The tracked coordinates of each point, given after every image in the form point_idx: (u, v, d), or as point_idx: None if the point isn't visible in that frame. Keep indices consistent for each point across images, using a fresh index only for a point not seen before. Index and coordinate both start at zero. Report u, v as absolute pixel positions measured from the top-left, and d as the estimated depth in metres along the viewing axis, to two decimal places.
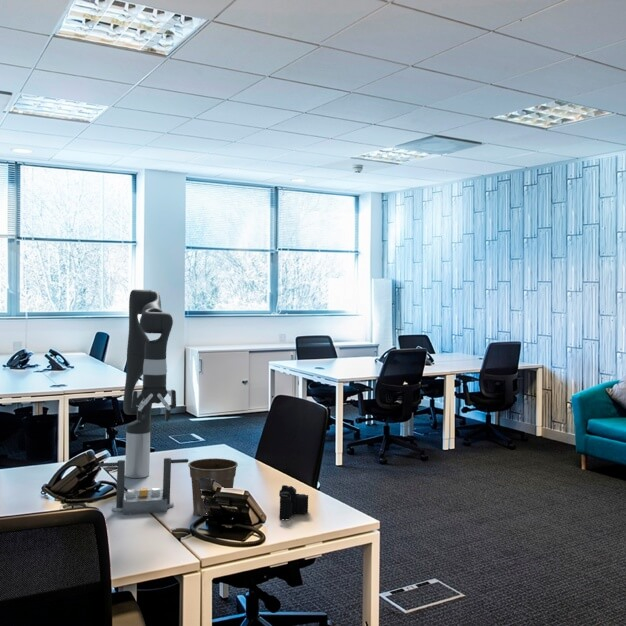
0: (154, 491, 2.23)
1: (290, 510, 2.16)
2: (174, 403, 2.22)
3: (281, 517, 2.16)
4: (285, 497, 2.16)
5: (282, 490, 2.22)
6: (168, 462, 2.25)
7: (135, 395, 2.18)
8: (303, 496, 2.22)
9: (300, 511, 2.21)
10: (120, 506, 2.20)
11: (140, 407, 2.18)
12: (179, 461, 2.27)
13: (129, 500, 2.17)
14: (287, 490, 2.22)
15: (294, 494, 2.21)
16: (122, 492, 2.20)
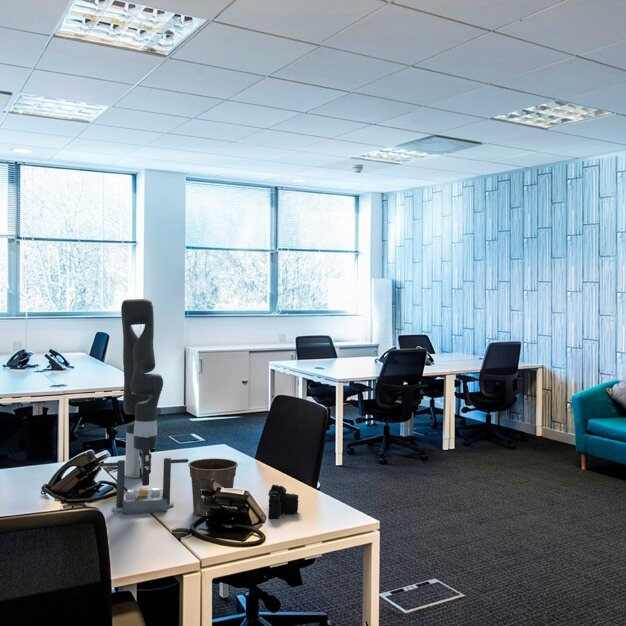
0: (154, 491, 2.23)
1: (279, 510, 2.16)
2: None
3: (270, 516, 2.16)
4: (274, 497, 2.16)
5: (272, 490, 2.22)
6: (168, 462, 2.25)
7: (150, 459, 2.18)
8: (293, 496, 2.22)
9: (289, 511, 2.21)
10: (120, 506, 2.20)
11: None
12: (179, 461, 2.27)
13: (129, 500, 2.17)
14: (277, 490, 2.22)
15: (283, 494, 2.21)
16: (122, 492, 2.20)
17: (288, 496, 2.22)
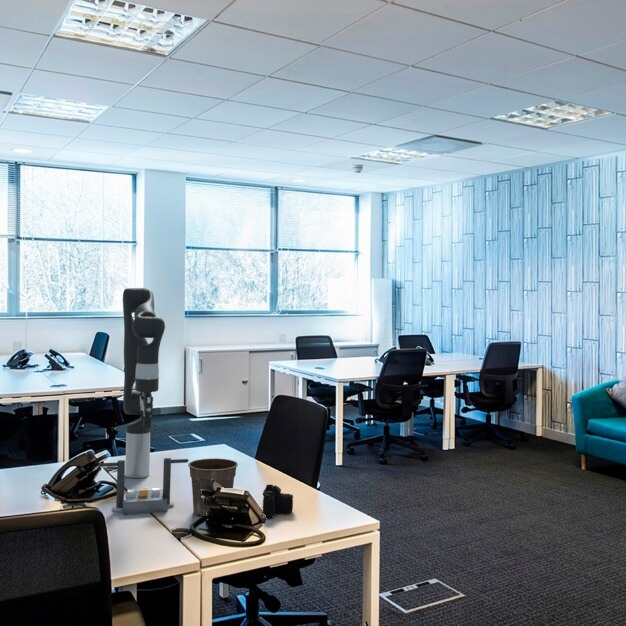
0: (154, 491, 2.23)
1: (273, 509, 2.16)
2: None
3: None
4: (268, 496, 2.16)
5: (266, 489, 2.22)
6: (168, 462, 2.25)
7: None
8: (287, 496, 2.22)
9: (284, 510, 2.21)
10: (120, 506, 2.20)
11: (151, 412, 2.19)
12: (179, 461, 2.27)
13: (129, 500, 2.17)
14: (271, 489, 2.22)
15: (278, 493, 2.21)
16: (122, 492, 2.20)
17: (282, 496, 2.22)
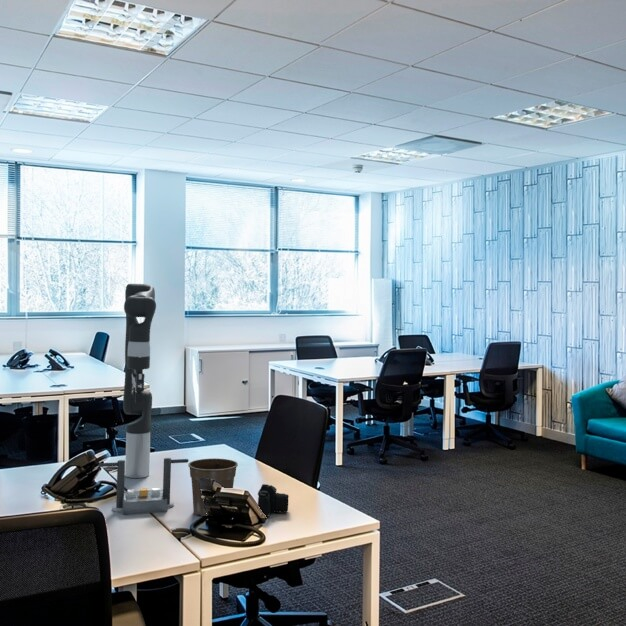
0: (154, 491, 2.23)
1: (268, 509, 2.16)
2: None
3: None
4: (263, 496, 2.17)
5: (261, 489, 2.22)
6: (168, 462, 2.25)
7: (143, 377, 2.25)
8: (282, 495, 2.22)
9: (279, 510, 2.21)
10: (120, 506, 2.20)
11: None
12: (179, 461, 2.27)
13: (129, 500, 2.17)
14: (266, 489, 2.22)
15: (273, 493, 2.21)
16: (122, 492, 2.20)
17: (278, 496, 2.22)
